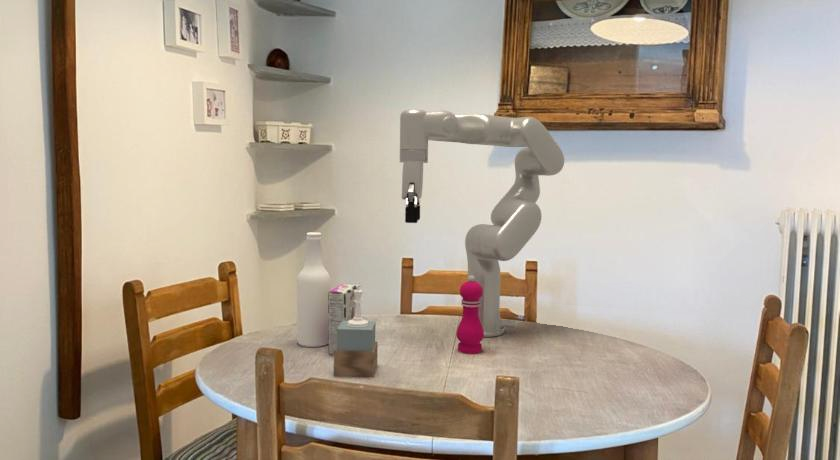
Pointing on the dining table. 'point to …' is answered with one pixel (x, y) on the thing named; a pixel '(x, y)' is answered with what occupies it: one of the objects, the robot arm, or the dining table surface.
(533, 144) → the robot arm
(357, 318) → the chess piece
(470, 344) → the pepper mill
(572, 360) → the dining table surface
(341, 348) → the slate top block
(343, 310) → the candy bar box
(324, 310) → the white bottle
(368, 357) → the walnut base block
